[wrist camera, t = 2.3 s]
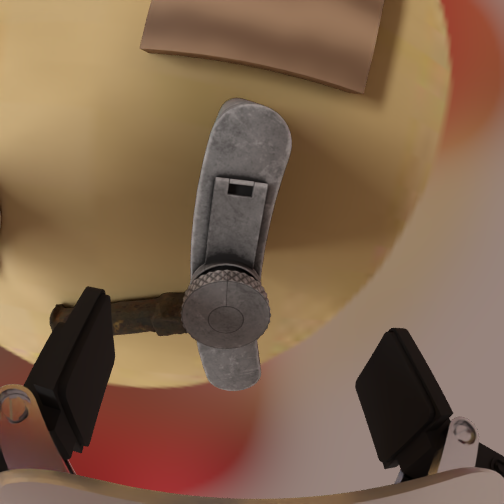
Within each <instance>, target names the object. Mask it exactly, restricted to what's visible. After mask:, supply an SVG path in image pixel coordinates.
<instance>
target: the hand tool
mask: <svg viewBox="0 0 504 504" xmlns="http://www.w3.org/2000/svg"><path fill="white" fill-rule="evenodd" d="M184 296H185V293H164V294H162V295H161V296H160V297H158V298H155V299H148V300H137V301H121V302H117V303H111V316H112V329H113V335H121V334H132V333H141V332H148V331H152V332H156V333H157V334H158V336H168V335H172V334H183V333H187V331H186V329H185V328H184V326H183V322H182V320H181V317H182V316H181V311H182V304H183V298H184ZM72 310H73V308H64V306H63V305H62V304H58V305H56V307H55V308H54V309H53V311H52V313H51V315H50V326H51V329H52V331H53V330H54V328H55V326H56V325H57V324H58V323H59V322H63V323H65V322H66V321H67V319H68V317H69V315H70V314H71V312H72Z"/></svg>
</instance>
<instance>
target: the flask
mask: <svg viewBox="0 0 504 504" xmlns="http://www.w3.org/2000/svg"><path fill="white" fill-rule="evenodd" d="M291 149H292V138H291V133H290V130H289V127H288V125H287V124H286V122H285V120H284V119H283V118H282V117H281V116H280V115H279V114H278V113H277V112H275V111H274V110H272V109H271V108H268V107H266V106H264V105H261V104H258V103H254V102H251V101H248V100H245V99H241V98H233V99H230V100H228V101H226V102H225V103H224V104H223V105H222V107H221V109H220V111H219V113H218V116H217V118H216V121H215V123H214V126H213V128H212V130H211V133H210V137H209V140H208V144H207V148H206V152H205V156H204V160H203V164H202V169H201V174H200V179H199V183H198V188H197V195H196V202H195V209H194V217H193V227H192V238H191V262H190V264H191V281H190V285H189V287H188V289H187V290H186V291H185V296H184V298H183V304H182V311H181V316H182V317H181V320H182V322H183V326H184V328H185V329H186V331H187V333H189V334H190V335H191V337H192V338H194V339H195V340H196V341H197V345H198V350H199V354H200V357H201V361H202V364H203V367H204V370H205V373H206V376H207V378H208V380H209V382H210V383H211V384H213V385H214V386H215V387H218V388H220V389H223V390H228V391H237V390H243V389H246V388H249V387H251V386H253V385H254V384H255V383H257V381H258V380H259V379H260V376H261V367H260V360H259V352H258V344H257V339H259V337H260V336H261V335H263V334H264V332H265V330H266V329H267V328H268V324H269V323H270V317H271V314H270V307H269V300H268V298H267V293H266V292H265V290H264V288H263V287H262V286H261V272H262V264H263V258H264V252H265V246H266V241H267V236H268V231H269V226H270V222H271V218H272V214H273V209H274V205H275V201H276V198H277V194H278V191H279V188H280V184H281V181H282V177H283V175H284V172H285V169H286V166H287V163H288V160H289V157H290V153H291Z"/></svg>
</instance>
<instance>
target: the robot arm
mask: <svg viewBox="0 0 504 504" xmlns="http://www.w3.org/2000/svg"><path fill="white" fill-rule="evenodd" d="M0 228H1V213H0ZM114 360H115V349H114V340H113V329H112V316H111V300H110V296H109V295H105V291H104V290H103V289H98V288H93V287H86V288H85V290H84V292H83V293H82V295H81V297H80V298H79V300H78V302H77V303H76V305H75V307H74V308H73V310H72V312H71V314H70V315H69V317H68V319H67V321H66V322H65V323H63V322H59V323H58V324H57V325H56V326H55V328H54V330H53V331H52V333H51V335H50V337H49V338H48V340H47V342H46V344H45V346H44V347H43V349H42V351H41V353H40V355H39V357H38V359H37V360H36V362H35V364H34V366H33V368H32V370H31V372H30V374H29V376H28V378H27V380H26V382H25V384H24V386H22V385H17V384H10V385H6V386H3V387H1V388H0V504H504V457H503V456H502V455H500V454H499V453H496V452H495V451H493V450H491V449H490V448H488V447H486V446H485V445H483V444H481V443H479V433H478V429H477V428H476V426H475V425H474V424H473V423H472V421H470V420H469V419H467V418H465V417H455V418H454V419H452V421H450V419H449V417H450V416H451V415H452V414H453V412H452V410H451V408H450V406H449V404H448V402H447V400H446V398H445V396H444V394H443V392H442V390H441V388H440V387H439V385H438V383H437V381H436V379H435V377H434V375H433V374H432V372H431V370H430V368H429V366H428V365H427V363H426V361H425V359H424V358H423V356H422V354H421V352H420V351H419V349H418V347H417V345H416V344H415V342H414V340H413V339H412V337H411V335H410V334H409V332H408V331H407V330H406V329H403V328H391V329H390V330H389V331H388V332H386V333H385V334H384V336H383V337H382V339H381V341H380V343H379V344H378V346H377V348H376V349H375V351H374V353H373V354H372V356H371V358H370V359H369V361H368V363H367V364H366V366H365V367H364V369H363V371H362V372H361V374H360V375H359V377H358V379H357V381H356V386H355V387H356V391H357V394H358V397H359V400H360V402H361V406H362V409H363V411H364V414H365V418H366V421H367V424H368V427H369V430H370V433H371V436H372V439H373V442H374V445H375V449H376V452H377V455H378V458H379V460H380V461H381V462H383V465H384V469H387V468H393V467H397V466H398V465H400V468H401V469H400V472H399V474H398V476H397V478H396V481H395V483H394V484H392V485H388V486H383V487H378V488H372V489H367V490H361V491H355V492H349V493H341V494H333V495H324V496H314V497H301V498H284V499H230V498H212V497H200V496H188V495H181V494H173V493H165V492H159V491H152V490H146V489H140V488H135V487H129V486H124V485H120V484H114V483H111V482H106V481H102V480H97V479H92V478H88V477H84V476H79V475H76V474H75V472H74V470H73V468H72V466H71V464H70V463H69V460H68V459H70V458H71V456H72V452H73V451H76V452H79V453H82V450H83V446H89V444H90V441H91V437H92V433H93V430H94V426H95V422H96V419H97V416H98V412H99V409H100V406H101V402H102V399H103V396H104V392H105V389H106V386H107V383H108V380H109V377H110V374H111V371H112V368H113V365H114Z"/></svg>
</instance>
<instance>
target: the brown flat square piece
mask: <svg viewBox="0 0 504 504" xmlns="http://www.w3.org/2000/svg"><path fill="white" fill-rule="evenodd" d="M383 5H384V0H152V1H151V4H150V8H149V12H148V15H147V19H146V23H145V27H144V32H143V36H142V40H141V45H140V49H142V50H144V51H146V52H148V53H157V54H169V55H179V56H188V57H196V58H204V59H211V60H217V61H223V62H229V63H235V64H241V65H246V66H251V67H256V68H261V69H265V70H270V71H274V72H278V73H283V74H287V75H291V76H295V77H298V78H302V79H306V80H309V81H313V82H316V83H320V84H323V85H327V86H330V87H333V88H336V89H339V90H343V91H346V92H349V93H359V94H364V91H365V87H366V83H367V78H368V74H369V70H370V66H371V61H372V57H373V53H374V48H375V44H376V39H377V34H378V30H379V25H380V20H381V15H382V10H383Z"/></svg>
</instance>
